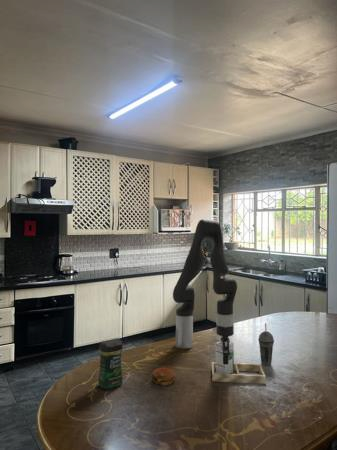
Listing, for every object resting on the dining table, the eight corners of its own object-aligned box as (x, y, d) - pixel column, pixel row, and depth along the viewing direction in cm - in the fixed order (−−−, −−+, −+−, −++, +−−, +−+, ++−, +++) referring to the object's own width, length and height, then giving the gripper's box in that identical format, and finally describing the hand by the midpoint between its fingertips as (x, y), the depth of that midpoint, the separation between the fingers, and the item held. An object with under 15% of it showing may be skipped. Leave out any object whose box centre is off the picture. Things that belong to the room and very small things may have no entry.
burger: (172, 375, 153) (172, 364, 153) (177, 384, 144) (177, 373, 144) (150, 377, 151) (150, 366, 151) (153, 386, 142) (153, 375, 142)
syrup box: (225, 379, 148) (225, 345, 148) (215, 374, 153) (215, 342, 153) (234, 375, 152) (234, 342, 152) (223, 371, 157) (223, 339, 157)
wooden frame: (212, 381, 146) (212, 374, 146) (211, 368, 159) (211, 362, 159) (265, 383, 144) (265, 376, 144) (260, 370, 157) (260, 364, 157)
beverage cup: (275, 363, 166) (275, 321, 166) (273, 368, 159) (272, 325, 160) (259, 360, 169) (259, 319, 169) (257, 366, 163) (256, 323, 163)
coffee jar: (104, 392, 137) (104, 345, 137) (95, 384, 143) (95, 340, 143) (125, 385, 143) (125, 340, 143) (116, 378, 149) (116, 335, 149)
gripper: (215, 319, 160) (215, 354, 160) (217, 328, 146) (217, 366, 146) (232, 319, 159) (232, 354, 159) (235, 328, 145) (235, 367, 145)
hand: (224, 360), depth 152 cm, fingers open, 8 cm apart
